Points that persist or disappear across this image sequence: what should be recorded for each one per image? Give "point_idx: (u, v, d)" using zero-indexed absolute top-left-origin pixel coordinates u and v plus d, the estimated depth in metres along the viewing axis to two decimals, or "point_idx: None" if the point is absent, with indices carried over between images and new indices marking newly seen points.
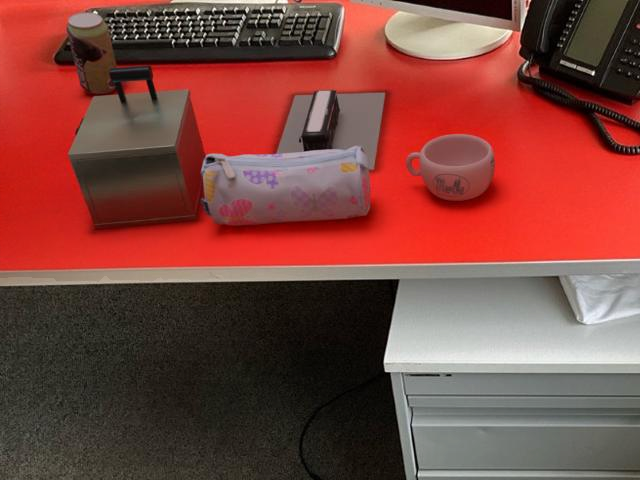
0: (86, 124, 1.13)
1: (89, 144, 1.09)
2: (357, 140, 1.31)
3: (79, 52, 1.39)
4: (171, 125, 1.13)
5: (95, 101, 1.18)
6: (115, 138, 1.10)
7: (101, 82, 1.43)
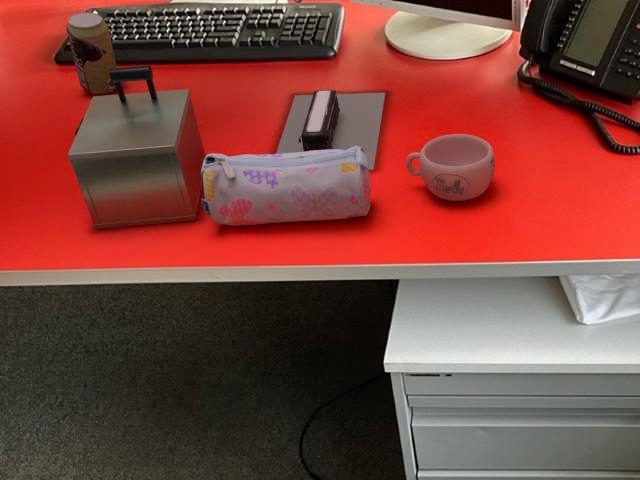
0: (86, 124, 1.13)
1: (89, 144, 1.09)
2: (357, 140, 1.31)
3: (79, 52, 1.39)
4: (171, 125, 1.13)
5: (95, 101, 1.18)
6: (115, 138, 1.10)
7: (101, 82, 1.43)
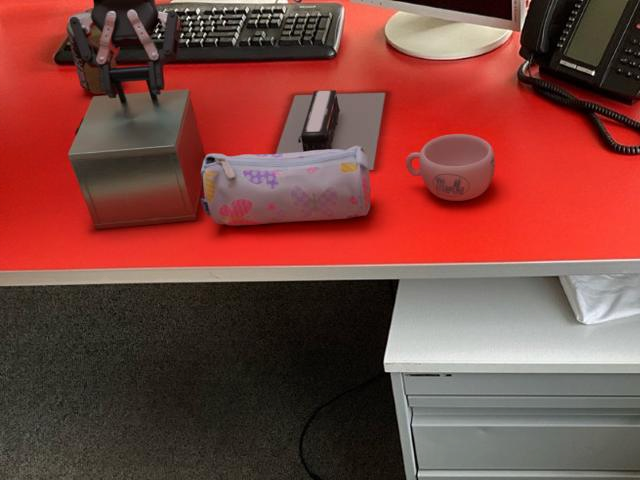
0: (86, 124, 1.13)
1: (89, 144, 1.09)
2: (357, 141, 1.31)
3: (79, 52, 1.39)
4: (171, 125, 1.13)
5: (95, 101, 1.18)
6: (115, 138, 1.10)
7: None
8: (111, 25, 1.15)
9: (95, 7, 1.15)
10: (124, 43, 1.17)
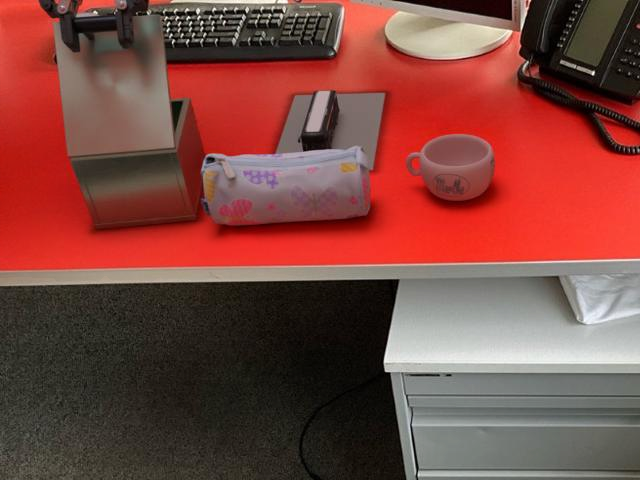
0: (66, 91, 1.07)
1: (84, 137, 1.08)
2: (357, 141, 1.31)
3: None
4: (160, 101, 1.09)
5: (58, 34, 1.07)
6: (107, 126, 1.08)
7: None
8: None
9: None
10: None
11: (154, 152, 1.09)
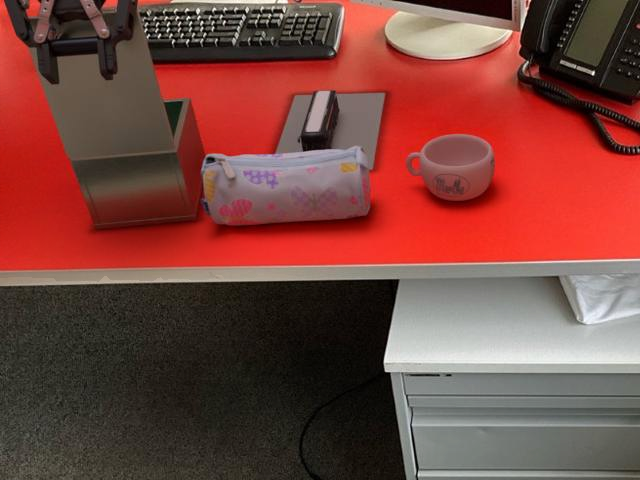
0: (51, 94, 1.02)
1: (81, 140, 1.06)
2: (356, 141, 1.31)
3: None
4: (153, 105, 1.05)
5: None
6: (103, 130, 1.06)
7: None
8: None
9: None
10: (68, 18, 0.96)
11: (154, 152, 1.09)
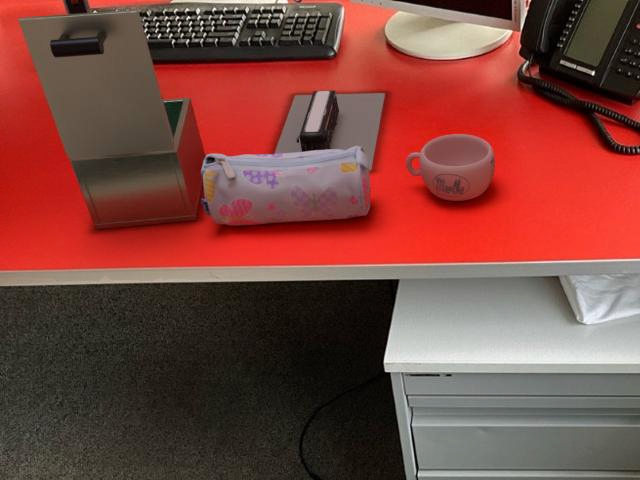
0: (51, 95, 1.02)
1: (81, 140, 1.06)
2: (356, 141, 1.31)
3: None
4: (153, 105, 1.05)
5: (28, 34, 0.98)
6: (103, 130, 1.06)
7: None
8: None
9: None
10: None
11: (154, 152, 1.09)
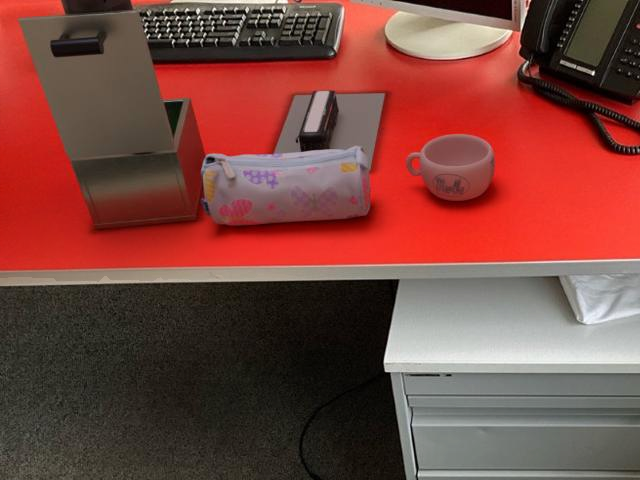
0: (51, 95, 1.02)
1: (81, 140, 1.06)
2: (355, 141, 1.31)
3: None
4: (153, 105, 1.05)
5: (28, 34, 0.98)
6: (103, 130, 1.06)
7: None
8: None
9: None
10: None
11: (154, 152, 1.09)
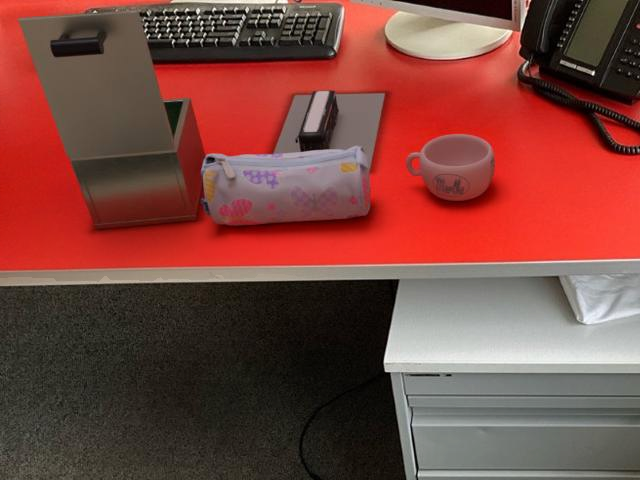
0: (51, 95, 1.02)
1: (81, 140, 1.06)
2: (355, 141, 1.31)
3: None
4: (153, 105, 1.05)
5: (28, 34, 0.98)
6: (103, 130, 1.06)
7: None
8: None
9: None
10: None
11: (154, 152, 1.09)
